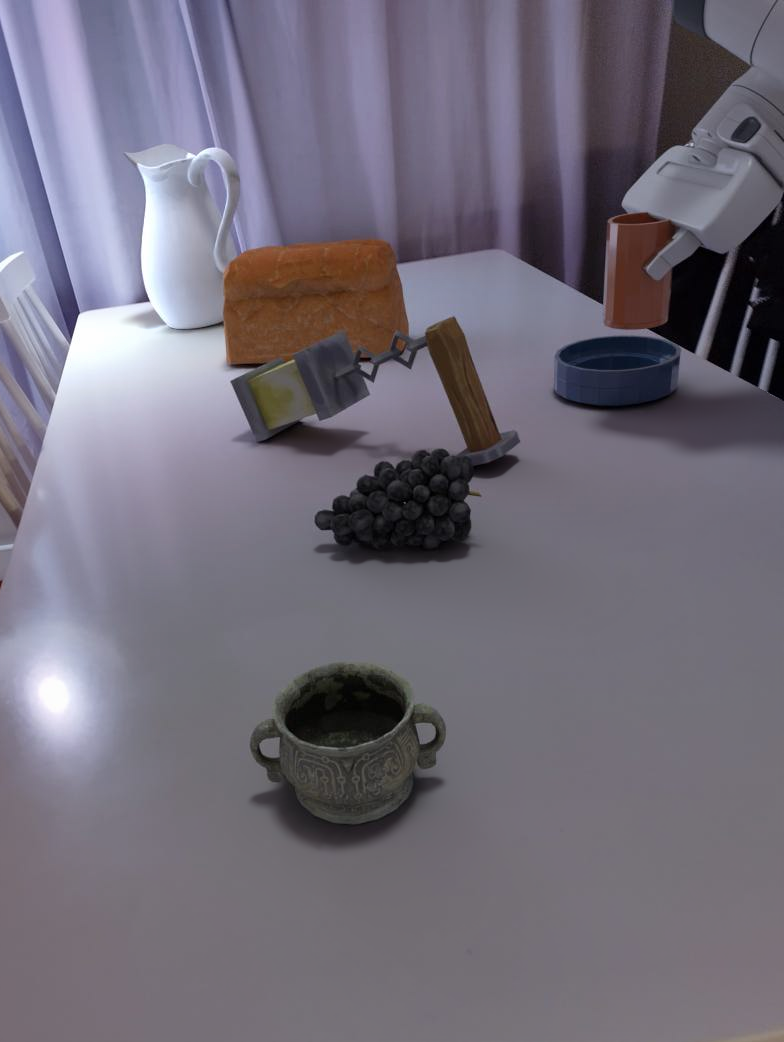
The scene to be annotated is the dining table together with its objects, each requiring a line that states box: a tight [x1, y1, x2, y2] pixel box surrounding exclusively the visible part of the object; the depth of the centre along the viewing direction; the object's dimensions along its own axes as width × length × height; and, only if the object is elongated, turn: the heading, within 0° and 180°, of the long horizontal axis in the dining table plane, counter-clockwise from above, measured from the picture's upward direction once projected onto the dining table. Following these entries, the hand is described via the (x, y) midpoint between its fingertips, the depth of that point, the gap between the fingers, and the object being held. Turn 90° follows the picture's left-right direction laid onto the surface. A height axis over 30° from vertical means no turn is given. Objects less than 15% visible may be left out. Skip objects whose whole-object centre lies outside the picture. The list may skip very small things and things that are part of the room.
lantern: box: [229, 315, 521, 467], centre depth 104 cm, size 8×17×30 cm
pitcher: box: [123, 143, 241, 330], centre depth 158 cm, size 24×17×28 cm
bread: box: [223, 238, 410, 366], centre depth 138 cm, size 14×27×15 cm, turn 77°
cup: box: [602, 212, 676, 331], centre depth 95 cm, size 6×6×10 cm
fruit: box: [314, 448, 483, 551], centre depth 84 cm, size 9×8×15 cm
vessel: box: [249, 661, 447, 826], centre depth 57 cm, size 12×9×6 cm
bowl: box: [553, 334, 682, 407], centre depth 112 cm, size 14×14×4 cm
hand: (632, 267), depth 95 cm, fingers closed on cup, 6 cm apart
